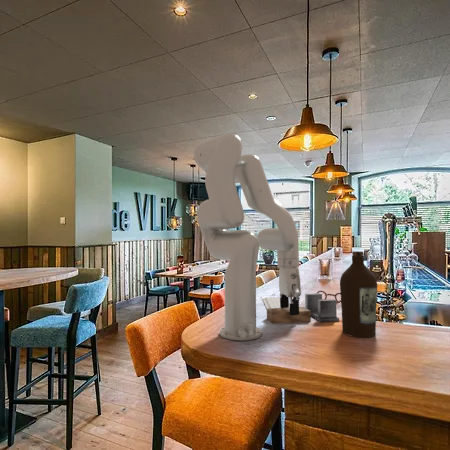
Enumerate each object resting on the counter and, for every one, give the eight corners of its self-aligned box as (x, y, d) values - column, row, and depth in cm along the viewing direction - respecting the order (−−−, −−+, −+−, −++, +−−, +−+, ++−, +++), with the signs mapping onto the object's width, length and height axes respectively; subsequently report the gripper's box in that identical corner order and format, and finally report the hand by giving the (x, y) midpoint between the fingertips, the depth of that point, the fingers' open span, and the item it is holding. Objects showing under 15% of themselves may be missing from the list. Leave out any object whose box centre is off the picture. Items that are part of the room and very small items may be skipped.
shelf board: (303, 318, 118) (303, 307, 118) (310, 322, 112) (310, 310, 112) (266, 319, 116) (266, 308, 116) (271, 324, 110) (271, 312, 110)
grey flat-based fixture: (339, 321, 113) (339, 300, 113) (320, 322, 111) (320, 301, 112) (319, 310, 127) (319, 292, 127) (303, 311, 126) (302, 293, 126)
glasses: (346, 304, 140) (346, 293, 140) (334, 310, 130) (334, 297, 130) (317, 300, 148) (317, 289, 149) (304, 305, 138) (304, 293, 139)
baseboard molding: (266, 318, 118) (298, 319, 118) (266, 310, 118) (298, 311, 118) (259, 300, 149) (285, 300, 149) (259, 294, 149) (285, 294, 149)
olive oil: (333, 330, 102) (332, 251, 102) (357, 326, 106) (356, 250, 107) (359, 340, 92) (358, 253, 93) (385, 335, 97) (384, 252, 97)
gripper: (308, 265, 107) (309, 317, 107) (289, 260, 124) (290, 304, 124) (286, 266, 106) (287, 318, 106) (270, 261, 123) (271, 306, 123)
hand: (289, 311), depth 115 cm, fingers open, 9 cm apart
